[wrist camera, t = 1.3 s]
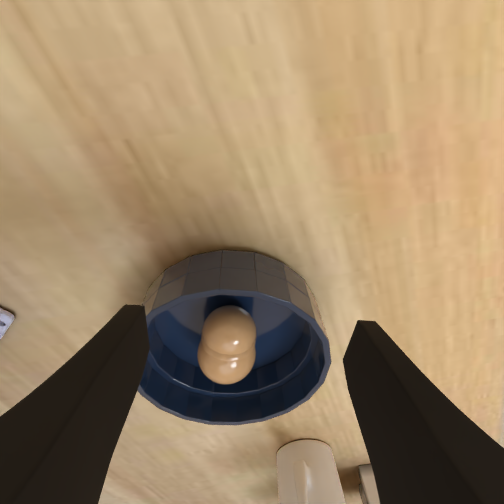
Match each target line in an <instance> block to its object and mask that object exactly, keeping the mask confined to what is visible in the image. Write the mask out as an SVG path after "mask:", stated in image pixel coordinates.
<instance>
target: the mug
mask: <svg viewBox="0 0 504 504" xmlns="http://www.w3.org/2000/svg"><path fill="white" fill-rule="evenodd" d="M276 462H277V478H278V494H279V504H346V502H345V498H344V495H343V491H342V487H341V483H340V479H339V475H338V471H337V467H336V464H335V460H334V457H333V453H332V450H331V448H330V447H329V446H328V445H327V444H326V443H324V442H321V441H318V440H298V441H294V442H291V443H288V444H286V445H284V446H283V447H282V448H280V449H279V451H278V452H277V455H276Z"/></svg>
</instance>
